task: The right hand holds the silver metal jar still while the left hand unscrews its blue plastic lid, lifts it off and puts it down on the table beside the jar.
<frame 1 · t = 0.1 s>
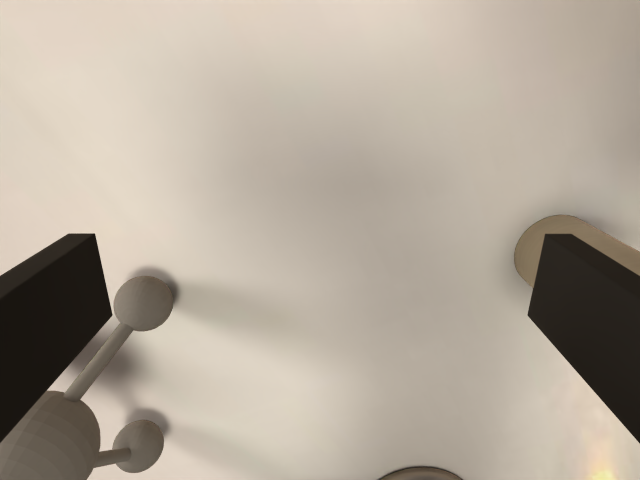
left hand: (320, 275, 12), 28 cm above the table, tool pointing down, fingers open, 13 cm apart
molecular model: (119, 341, 46), on the table
jar: (553, 251, 42), on the table
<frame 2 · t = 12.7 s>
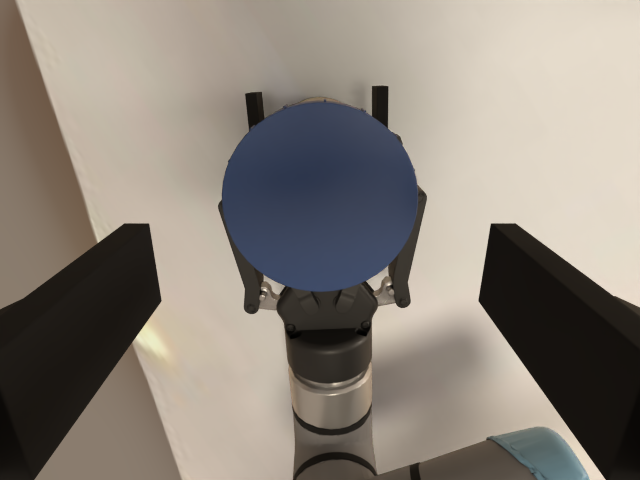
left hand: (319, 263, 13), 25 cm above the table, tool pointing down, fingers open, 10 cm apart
right hand: (316, 89, 28), fingers closed on jar, 8 cm apart
lid: (320, 203, 19), point 18 cm above the table, screwed on, not yet turned
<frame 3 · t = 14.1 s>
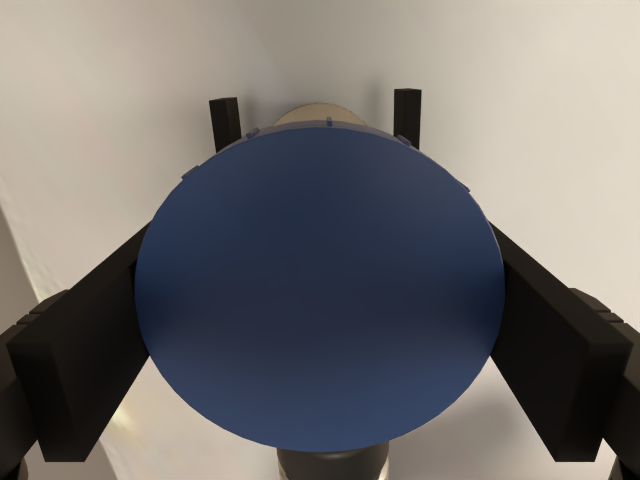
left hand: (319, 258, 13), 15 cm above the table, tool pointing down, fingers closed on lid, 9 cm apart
lid: (319, 309, 10), point 18 cm above the table, screwed on, not yet turned, touching left hand
jar: (319, 166, 27), on the table, touching right hand
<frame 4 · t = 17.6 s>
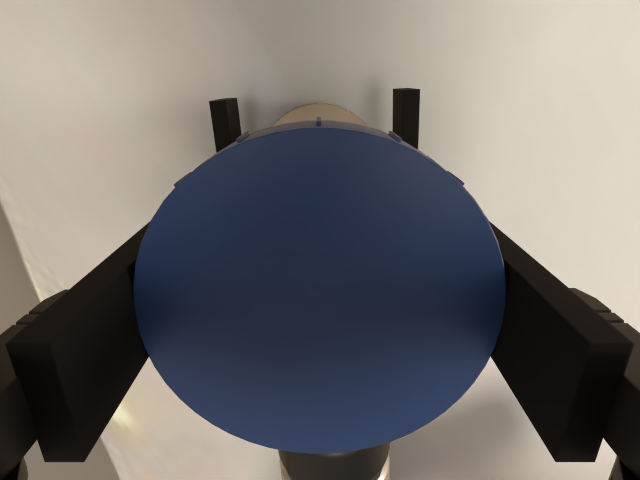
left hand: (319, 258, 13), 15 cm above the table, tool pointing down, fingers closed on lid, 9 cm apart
lid: (319, 310, 10), point 18 cm above the table, turned 115° so far, risen 0.2 cm, still on its thread, touching left hand
jar: (319, 166, 28), on the table, touching right hand
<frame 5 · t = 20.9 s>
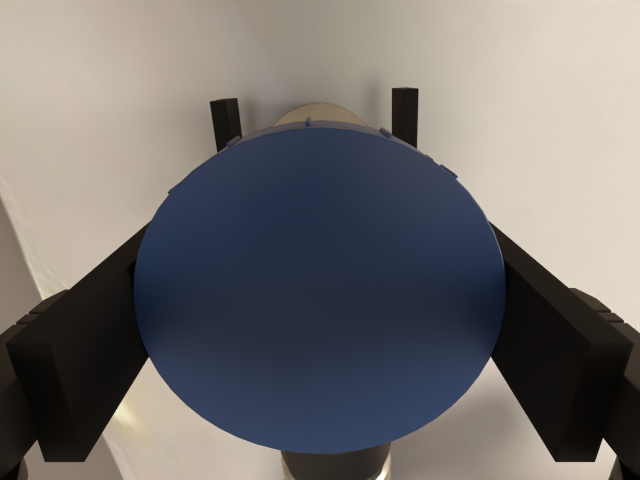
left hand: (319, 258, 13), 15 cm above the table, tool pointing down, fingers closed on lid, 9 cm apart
lid: (319, 310, 10), point 19 cm above the table, turned 230° so far, risen 0.4 cm, still on its thread, touching left hand
jar: (319, 165, 28), on the table, touching right hand
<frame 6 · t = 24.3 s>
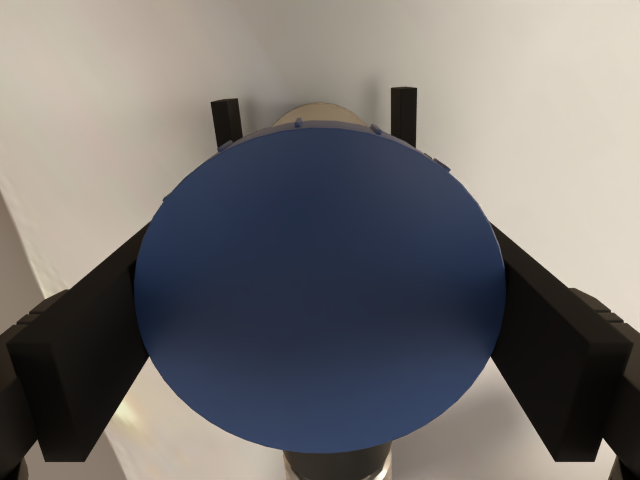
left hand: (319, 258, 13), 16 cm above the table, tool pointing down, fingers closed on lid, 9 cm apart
lid: (319, 310, 10), point 19 cm above the table, turned 346° so far, risen 0.6 cm, still on its thread, touching left hand
jar: (319, 164, 28), on the table, touching right hand
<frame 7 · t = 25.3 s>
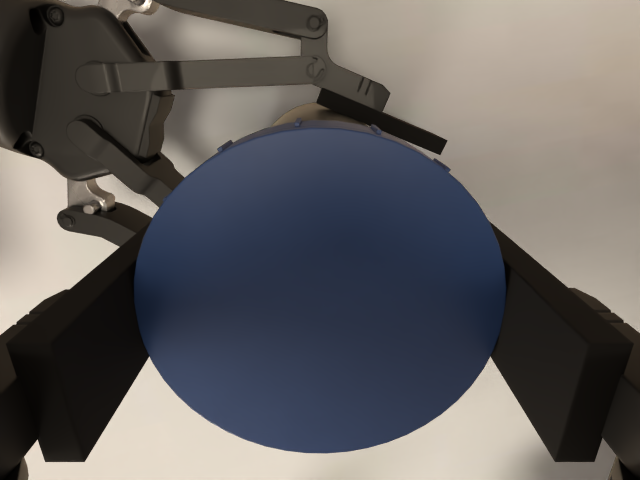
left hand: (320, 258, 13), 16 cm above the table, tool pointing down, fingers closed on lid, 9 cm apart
right hand: (399, 218, 23), fingers closed on jar, 8 cm apart
lid: (319, 310, 10), point 19 cm above the table, off its thread, touching left hand
jar: (319, 163, 28), on the table, touching right hand
when the left hand's fingers open (0 cm above the table, at t = 30.5 s): lid drops 2 cm, point 1 cm above the table.
when the right hand's fingers open (7 cm above the table, at t = 32.2 s): jar stays where it is, on the table.
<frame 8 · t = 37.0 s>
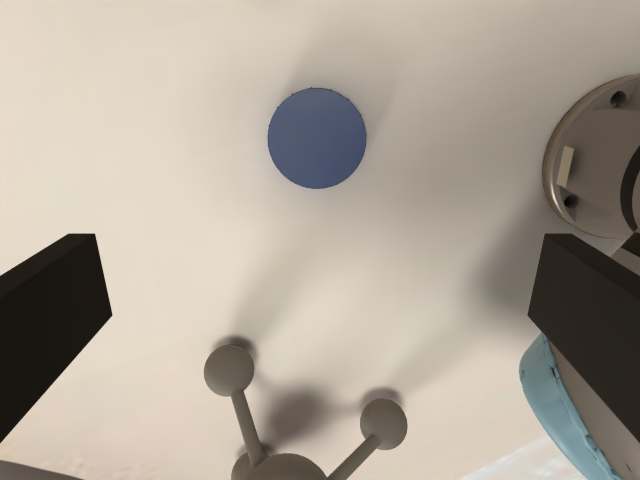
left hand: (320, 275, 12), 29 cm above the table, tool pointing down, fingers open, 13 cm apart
molecular model: (281, 395, 51), on the table
lid: (316, 140, 38), point 1 cm above the table, off its thread
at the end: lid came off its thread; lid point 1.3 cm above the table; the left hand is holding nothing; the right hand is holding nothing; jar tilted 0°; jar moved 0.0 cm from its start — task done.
